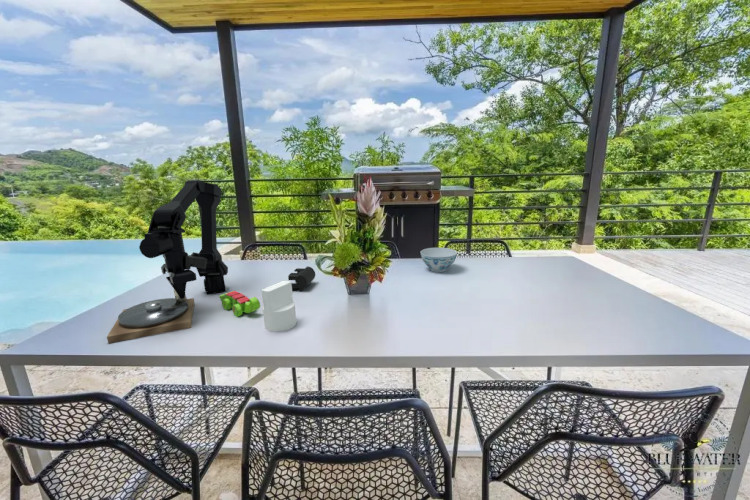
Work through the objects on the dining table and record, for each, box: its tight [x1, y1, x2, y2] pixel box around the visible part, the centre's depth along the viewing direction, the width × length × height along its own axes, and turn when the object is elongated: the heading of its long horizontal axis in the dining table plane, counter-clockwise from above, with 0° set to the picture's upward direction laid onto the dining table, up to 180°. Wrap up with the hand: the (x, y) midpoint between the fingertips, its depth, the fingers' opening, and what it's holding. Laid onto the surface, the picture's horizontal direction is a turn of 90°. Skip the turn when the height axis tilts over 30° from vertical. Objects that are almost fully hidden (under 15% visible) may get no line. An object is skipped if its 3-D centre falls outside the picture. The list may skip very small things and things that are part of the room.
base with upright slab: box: [261, 280, 297, 333], centre depth 101 cm, size 9×9×12 cm
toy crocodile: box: [218, 290, 261, 318], centre depth 113 cm, size 20×7×6 cm, turn 47°
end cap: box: [287, 266, 316, 292], centre depth 132 cm, size 10×7×7 cm
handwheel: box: [117, 289, 188, 328], centre depth 106 cm, size 18×18×6 cm
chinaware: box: [420, 247, 458, 273], centre depth 147 cm, size 15×15×8 cm
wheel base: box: [106, 297, 195, 345], centre depth 107 cm, size 20×20×2 cm
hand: (182, 298), depth 110 cm, fingers closed
